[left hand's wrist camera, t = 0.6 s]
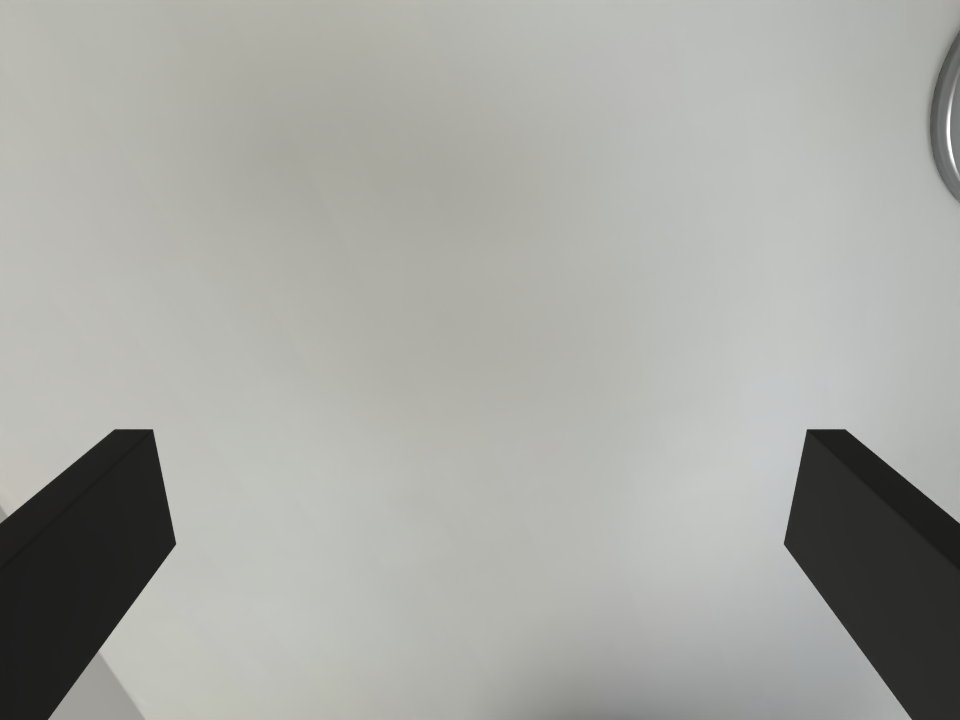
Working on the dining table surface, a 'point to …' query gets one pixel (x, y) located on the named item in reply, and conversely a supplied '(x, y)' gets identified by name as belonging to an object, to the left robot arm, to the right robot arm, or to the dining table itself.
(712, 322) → the dining table surface
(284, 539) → the dining table surface
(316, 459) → the dining table surface
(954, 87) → the right robot arm
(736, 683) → the dining table surface
